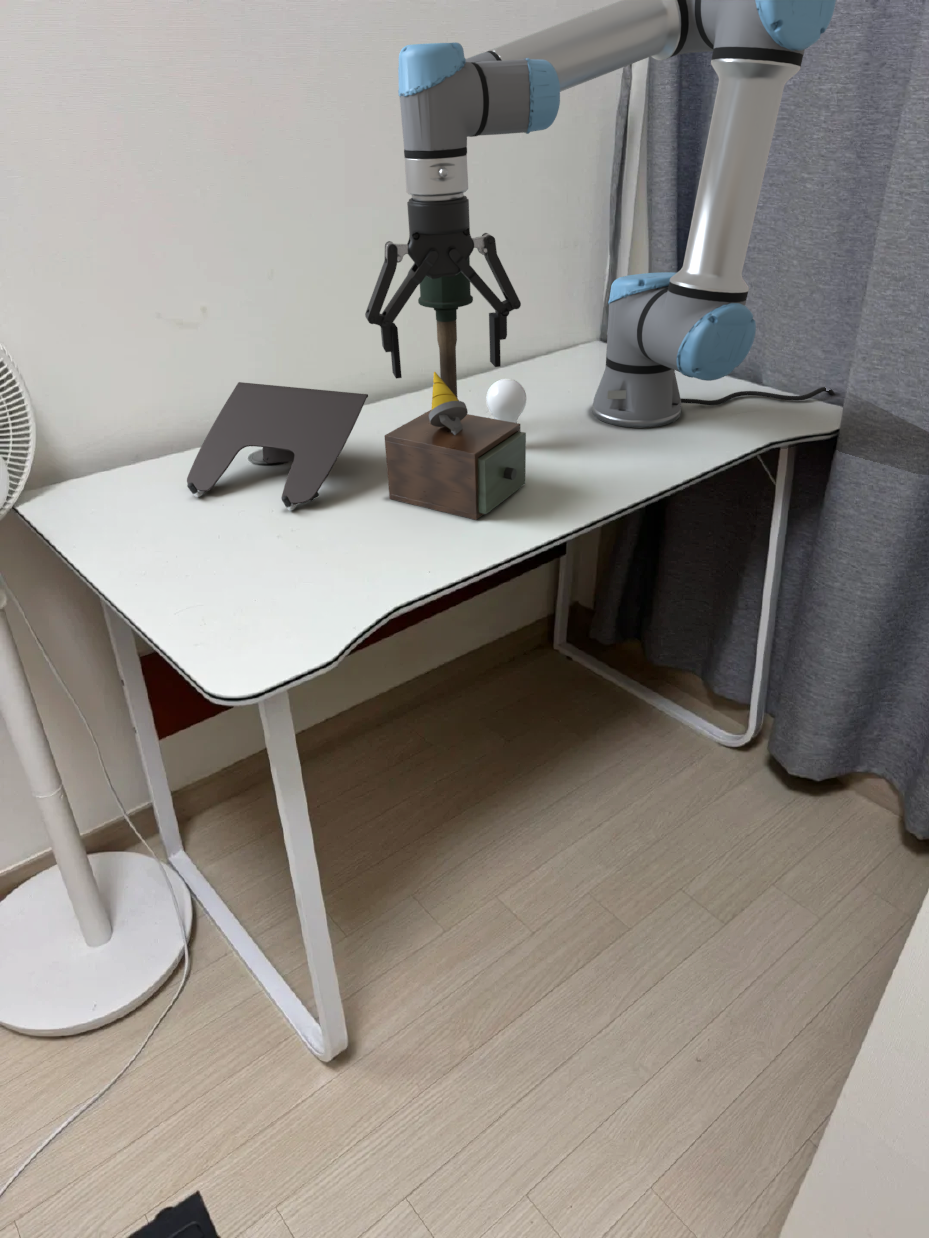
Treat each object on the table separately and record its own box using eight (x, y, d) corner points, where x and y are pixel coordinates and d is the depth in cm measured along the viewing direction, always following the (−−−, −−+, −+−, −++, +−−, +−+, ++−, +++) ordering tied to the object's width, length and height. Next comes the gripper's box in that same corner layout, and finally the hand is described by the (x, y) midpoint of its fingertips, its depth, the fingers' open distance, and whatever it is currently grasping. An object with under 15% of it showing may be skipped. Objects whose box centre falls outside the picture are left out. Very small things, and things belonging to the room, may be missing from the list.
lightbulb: (505, 436, 143) (505, 370, 137) (533, 445, 139) (535, 378, 133) (478, 447, 140) (477, 380, 134) (507, 457, 136) (507, 388, 130)
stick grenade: (477, 421, 150) (473, 235, 133) (473, 439, 142) (468, 245, 126) (429, 421, 150) (419, 236, 134) (422, 439, 143) (411, 246, 127)
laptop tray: (194, 522, 132) (166, 483, 125) (255, 413, 143) (232, 371, 135) (327, 542, 125) (306, 503, 118) (380, 427, 136) (364, 383, 128)
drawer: (532, 485, 124) (533, 434, 120) (493, 516, 116) (493, 462, 112) (447, 467, 131) (445, 417, 126) (404, 494, 123) (400, 443, 118)
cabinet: (520, 486, 126) (520, 423, 121) (476, 520, 117) (474, 454, 112) (436, 468, 133) (433, 407, 127) (389, 499, 124) (384, 435, 119)
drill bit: (428, 442, 117) (408, 377, 119) (453, 447, 121) (433, 385, 123) (456, 423, 114) (435, 357, 116) (481, 428, 118) (460, 365, 120)
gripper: (338, 208, 99) (358, 388, 111) (545, 192, 103) (543, 367, 115) (331, 199, 105) (351, 372, 117) (526, 185, 109) (526, 352, 121)
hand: (446, 370), depth 116 cm, fingers open, 13 cm apart
